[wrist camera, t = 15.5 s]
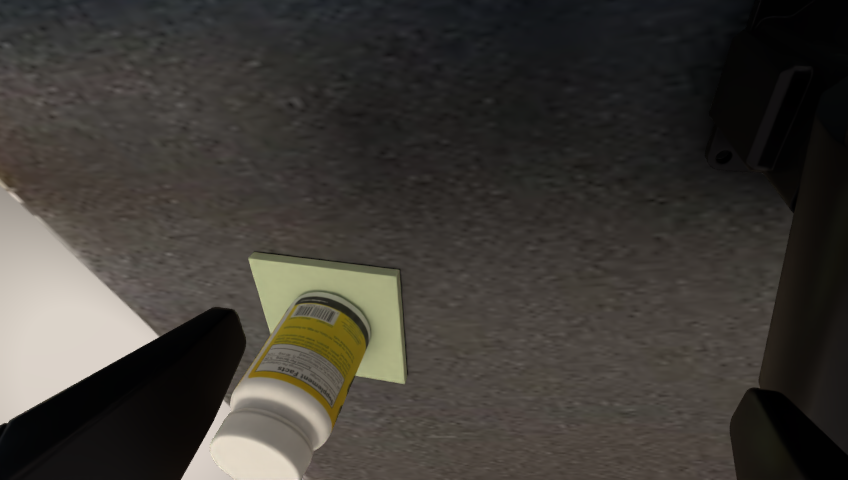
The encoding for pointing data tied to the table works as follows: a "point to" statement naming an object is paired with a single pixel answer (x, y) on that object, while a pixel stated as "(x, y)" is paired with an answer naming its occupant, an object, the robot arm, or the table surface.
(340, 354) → the supplement bottle
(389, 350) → the mat
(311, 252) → the table surface
